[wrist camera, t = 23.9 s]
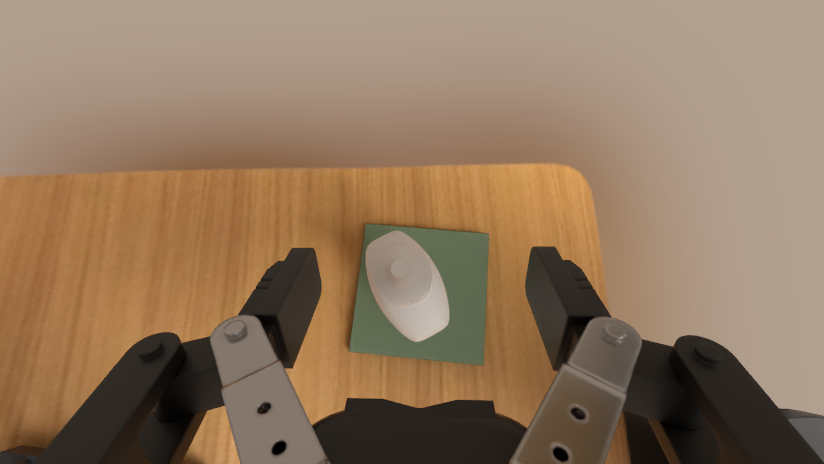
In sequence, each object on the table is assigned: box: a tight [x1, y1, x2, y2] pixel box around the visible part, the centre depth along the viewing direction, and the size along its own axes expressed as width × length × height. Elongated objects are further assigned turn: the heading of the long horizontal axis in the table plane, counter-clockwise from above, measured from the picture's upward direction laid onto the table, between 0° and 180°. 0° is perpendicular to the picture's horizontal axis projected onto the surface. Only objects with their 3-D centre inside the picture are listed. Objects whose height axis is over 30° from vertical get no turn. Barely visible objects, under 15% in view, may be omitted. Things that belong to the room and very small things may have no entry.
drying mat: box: [349, 224, 489, 365], centre depth 25 cm, size 9×9×1 cm
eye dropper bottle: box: [366, 231, 450, 342], centre depth 19 cm, size 4×6×12 cm
